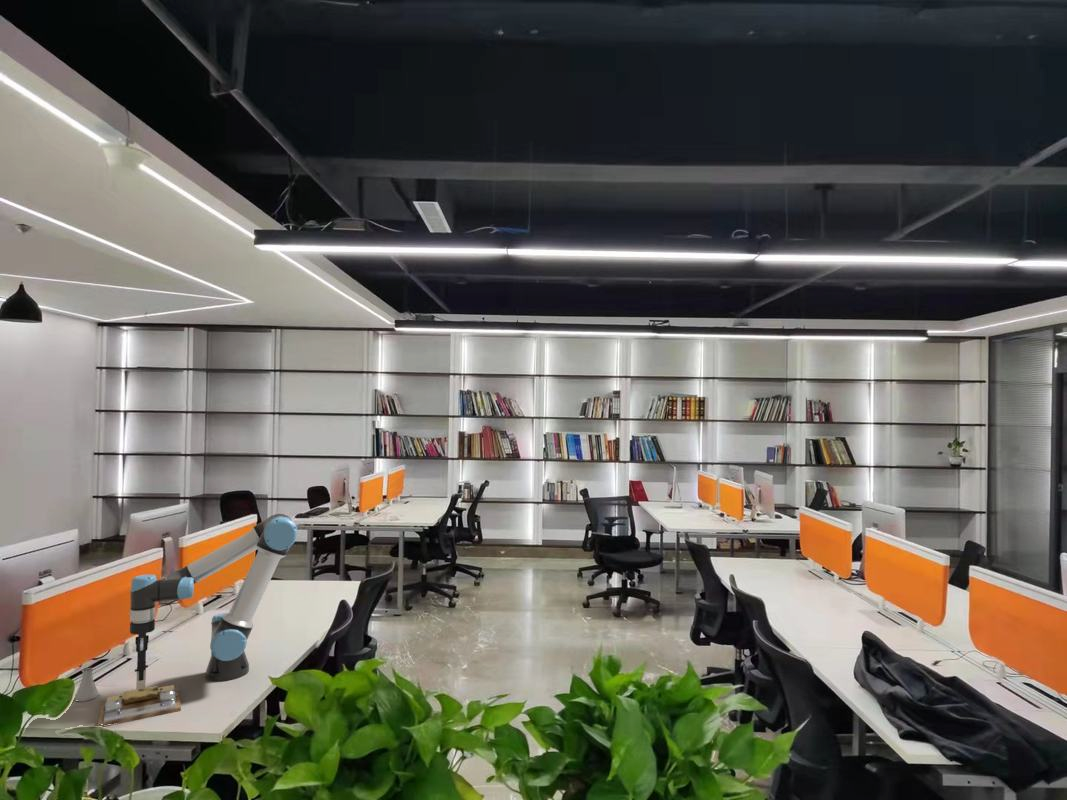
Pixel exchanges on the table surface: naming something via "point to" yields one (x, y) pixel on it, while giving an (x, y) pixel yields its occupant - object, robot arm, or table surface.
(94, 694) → the flask
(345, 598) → the table surface
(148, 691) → the gold silver metal bar
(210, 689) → the table surface
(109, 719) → the fixed leaf
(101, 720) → the board
